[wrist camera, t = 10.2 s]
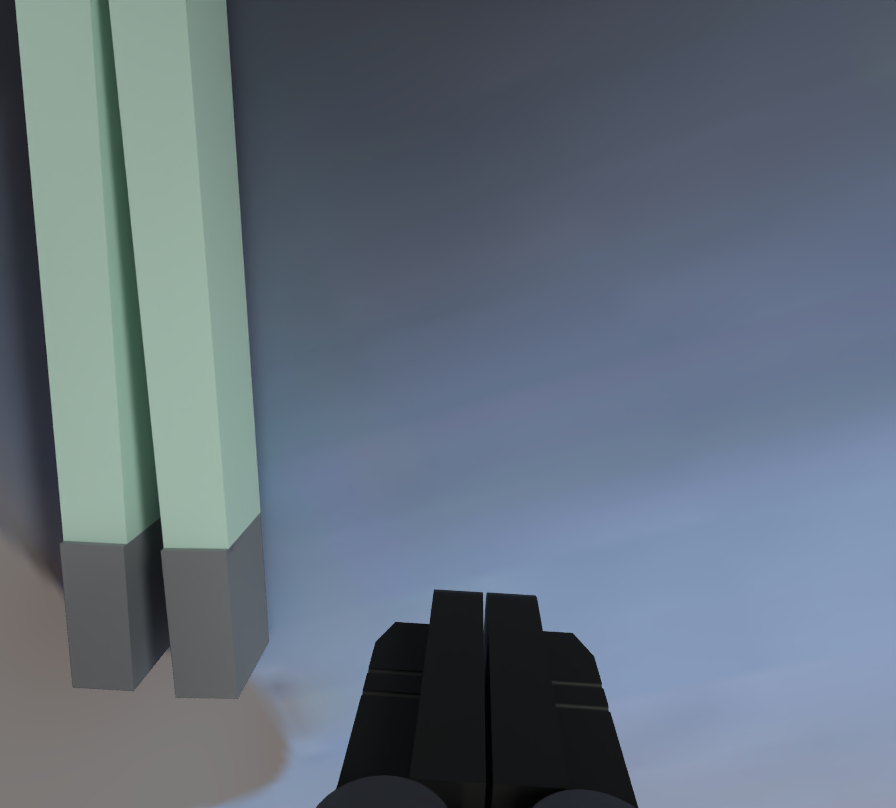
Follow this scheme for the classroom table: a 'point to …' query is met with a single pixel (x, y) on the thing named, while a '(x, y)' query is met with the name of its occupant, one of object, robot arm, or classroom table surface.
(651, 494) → the classroom table surface
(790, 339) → the classroom table surface
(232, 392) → the tongs arm
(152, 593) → the bar
